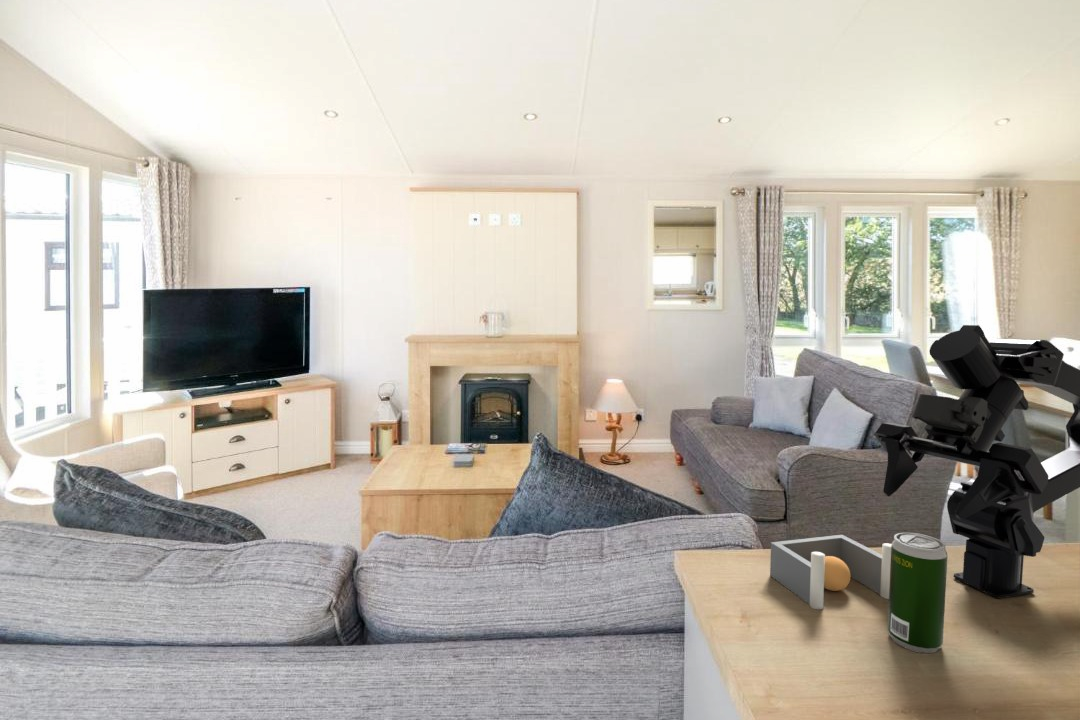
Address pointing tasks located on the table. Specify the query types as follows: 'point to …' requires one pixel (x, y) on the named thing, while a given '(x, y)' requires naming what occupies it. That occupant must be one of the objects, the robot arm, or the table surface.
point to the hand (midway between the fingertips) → (919, 504)
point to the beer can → (917, 592)
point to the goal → (805, 565)
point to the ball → (835, 574)
